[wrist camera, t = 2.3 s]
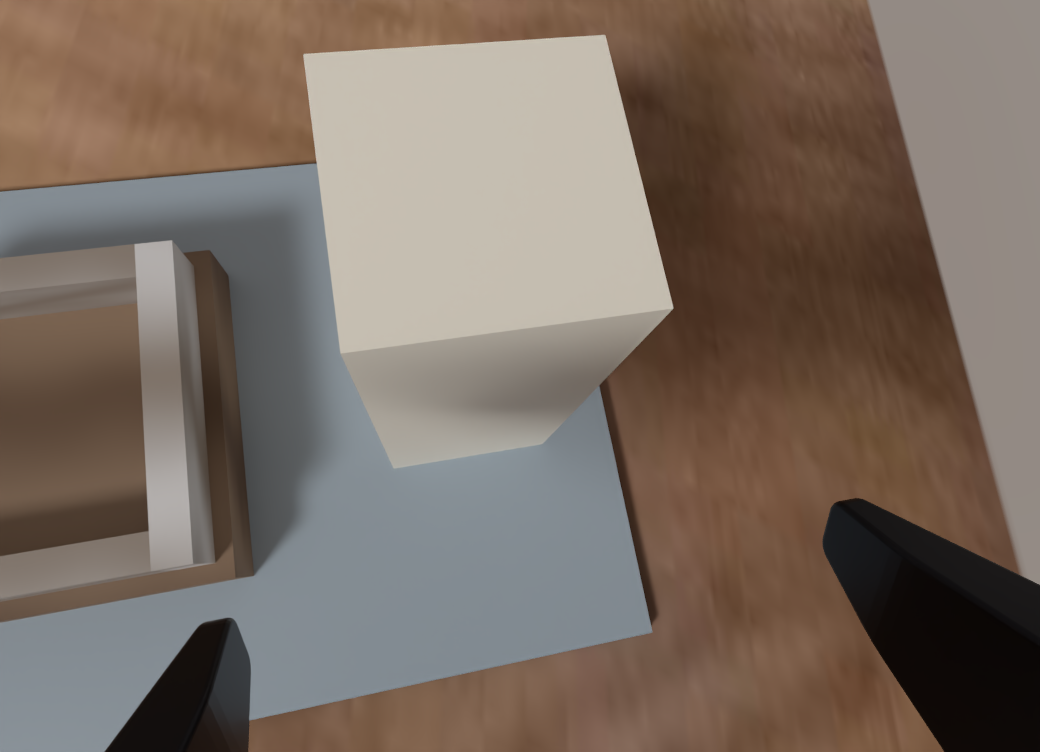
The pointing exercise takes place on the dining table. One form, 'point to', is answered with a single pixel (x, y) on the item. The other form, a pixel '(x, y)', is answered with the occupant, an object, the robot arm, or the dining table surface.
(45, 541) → the brown open tray
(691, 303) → the dining table surface
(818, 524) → the dining table surface
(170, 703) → the robot arm
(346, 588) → the blue-gray board
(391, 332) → the cream post
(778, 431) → the dining table surface
